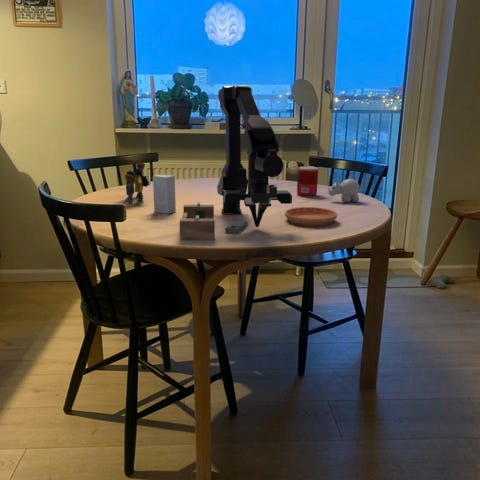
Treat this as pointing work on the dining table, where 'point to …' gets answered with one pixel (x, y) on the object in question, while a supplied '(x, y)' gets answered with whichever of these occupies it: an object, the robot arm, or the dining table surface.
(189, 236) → the open box
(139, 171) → the dark toy figure
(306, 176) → the canned food
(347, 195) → the toy rhinoceros
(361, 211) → the dining table surface
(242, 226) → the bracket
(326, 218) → the saucer
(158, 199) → the skincare box
